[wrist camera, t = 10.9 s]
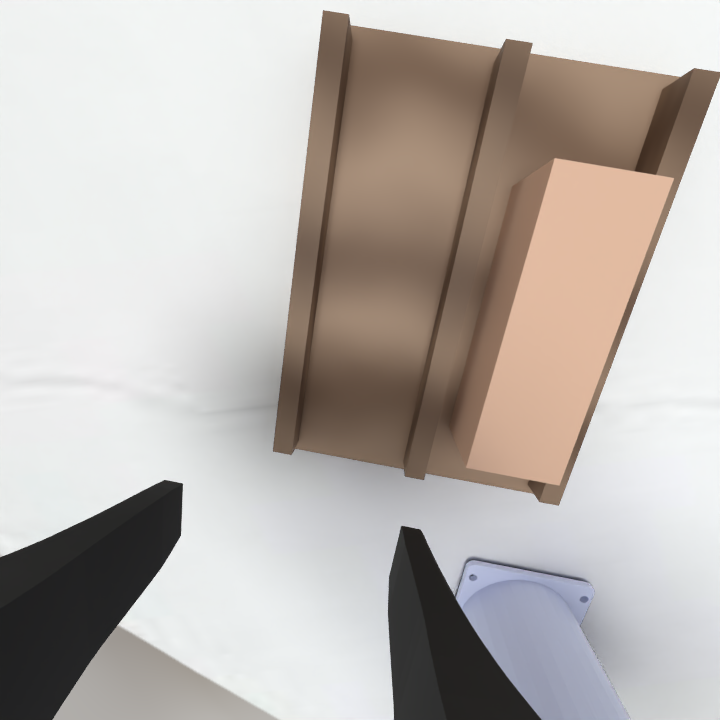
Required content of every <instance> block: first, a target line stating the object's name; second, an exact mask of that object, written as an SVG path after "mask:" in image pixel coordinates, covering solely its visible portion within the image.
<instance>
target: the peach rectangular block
mask: <svg viewBox="0 0 720 720" xmlns="http://www.w3.org/2000/svg"><path fill="white" fill-rule="evenodd" d="M673 180H674V178H671V177H665V176H659V175H653V174H647V173H641V172H635V171H629V170H623V169H617V168H611V167H605V166H599V165H593V164H587V163H581V162H575V161H569V160H563V159H557V158H554V159H553V160H551V161H550V162H548V163H547V164H545V165H544V166H542V167H541V168H539V169H538V170H536V171H535V172H533V173H532V174H530V175H529V176H527V177H526V178H524V179H523V180H521V181H520V182H518V183H517V184H515V185H514V186H512V189H511V193H510V197H509V200H508V204H507V208H506V212H505V216H504V220H503V223H502V227H501V231H500V235H499V239H498V242H497V246H496V250H495V254H494V258H493V261H492V265H491V269H490V273H489V277H488V281H487V284H486V288H485V292H484V296H483V300H482V303H481V307H480V311H479V315H478V319H477V322H476V326H475V330H474V334H473V338H472V342H471V345H470V349H469V353H468V357H467V361H466V364H465V368H464V372H463V376H462V380H461V383H460V387H459V391H458V395H457V399H456V402H455V406H454V410H453V414H452V418H451V422H450V425H449V428H450V430H451V433H452V435H453V437H454V440H455V442H456V445H457V447H458V450H459V452H460V454H461V457H462V459H463V462H464V464H465V466H466V468H469V469H475V470H480V471H485V472H490V473H496V474H501V475H506V476H511V477H517V478H522V479H527V480H532V481H538V482H543V483H548V484H553V485H560V483H561V480H562V477H563V475H564V472H565V469H566V467H567V464H568V461H569V459H570V456H571V453H572V451H573V448H574V445H575V443H576V440H577V437H578V434H579V432H580V429H581V426H582V424H583V421H584V418H585V416H586V413H587V410H588V408H589V405H590V402H591V400H592V397H593V394H594V392H595V389H596V386H597V384H598V381H599V378H600V376H601V373H602V370H603V368H604V365H605V362H606V360H607V357H608V354H609V351H610V349H611V346H612V343H613V341H614V338H615V335H616V333H617V330H618V327H619V325H620V322H621V319H622V317H623V314H624V311H625V309H626V306H627V303H628V301H629V298H630V295H631V293H632V290H633V287H634V285H635V282H636V279H637V276H638V274H639V271H640V268H641V266H642V263H643V260H644V258H645V255H646V252H647V250H648V247H649V244H650V242H651V239H652V236H653V234H654V231H655V228H656V226H657V223H658V220H659V218H660V215H661V212H662V210H663V207H664V204H665V201H666V199H667V196H668V193H669V191H670V188H671V185H672V183H673Z"/></svg>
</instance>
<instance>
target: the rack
mask: <svg viewBox="0 0 720 720" xmlns="http://www.w3.org/2000/svg"><path fill="white" fill-rule="evenodd" d="M532 44H533V43H529V42H523V41H516V40H510V39H506V40H505V42H504V44H503V46H502V48H501V49H498V48H492V47H486V46H479V45H473V44H466V43H460V42H454V41H447V40H441V39H435V38H428V37H422V36H415V35H409V34H403V33H396V32H390V31H384V30H377V29H371V28H364V27H358V26H352V25H350V18H349V14H343V13H337V12H330V11H324V10H323V16H322V24H321V33H320V42H319V51H318V60H317V68H316V77H315V86H314V95H313V103H312V112H311V121H310V130H309V139H308V147H307V156H306V165H305V174H304V183H303V191H302V200H301V209H300V218H299V226H298V235H297V244H296V253H295V262H294V270H293V279H292V288H291V297H290V305H289V314H288V323H287V332H286V341H285V349H284V358H283V367H282V376H281V385H280V393H279V402H278V411H277V420H276V428H275V437H274V446H273V451H274V452H279V453H284V454H290V455H292V453H293V451H294V449H300V450H306V451H311V452H316V453H321V454H327V455H332V456H337V457H343V458H348V459H353V460H358V461H364V462H369V463H374V464H380V465H385V466H390V467H395V468H401V469H404V474H405V477H411V478H416V479H421V480H424V477H425V473H427V474H432V475H438V476H443V477H448V478H454V479H459V480H464V481H469V482H475V483H480V484H485V485H491V486H496V487H501V488H506V489H512V490H517V491H522V492H528V493H533V494H534V495H535V496H536V498H537V499H538V501H539V502H543V503H548V504H553V505H558V506H559V504H560V501H561V498H562V496H563V493H564V490H565V488H566V485H567V482H568V480H569V477H570V474H571V472H572V469H573V466H574V464H575V461H576V458H577V456H578V453H579V450H580V448H581V445H582V442H583V440H584V437H585V434H586V432H587V429H588V426H589V424H590V421H591V418H592V416H593V413H594V410H595V408H596V405H597V402H598V400H599V397H600V394H601V392H602V389H603V386H604V384H605V381H606V378H607V376H608V373H609V371H610V368H611V365H612V363H613V360H614V357H615V355H616V352H617V349H618V347H619V344H620V341H621V339H622V336H623V333H624V331H625V328H626V325H627V323H628V320H629V317H630V315H631V312H632V309H633V307H634V304H635V301H636V299H637V296H638V293H639V291H640V288H641V285H642V283H643V280H644V277H645V275H646V272H647V269H648V267H649V264H650V261H651V259H652V256H653V253H654V251H655V248H656V245H657V243H658V240H659V238H660V235H661V232H662V230H663V227H664V224H665V222H666V219H667V216H668V214H669V211H670V208H671V206H672V203H673V200H674V198H675V195H676V192H677V190H678V187H679V184H680V182H681V179H682V176H683V174H684V171H685V168H686V166H687V163H688V160H689V158H690V155H691V152H692V150H693V147H694V144H695V142H696V139H697V136H698V134H699V131H700V128H701V126H702V123H703V120H704V118H705V115H706V112H707V110H708V107H709V105H710V102H711V99H712V97H713V94H714V91H715V89H716V86H717V83H718V81H719V78H720V72H715V71H708V70H702V69H696V68H694V69H692V70H691V71H689V72H688V73H686V74H685V75H683V76H682V77H677V76H671V75H664V74H658V73H651V72H645V71H639V70H632V69H626V68H620V67H613V66H607V65H600V64H594V63H588V62H581V61H575V60H568V59H562V58H556V57H549V56H543V55H537V54H530V52H531V48H532ZM554 158H557V159H563V160H569V161H575V162H581V163H587V164H593V165H599V166H605V167H611V168H617V169H623V170H629V171H635V172H641V173H647V174H653V175H659V176H665V177H671V178H674V180H673V183H672V185H671V188H670V191H669V193H668V196H667V199H666V201H665V204H664V207H663V210H662V212H661V215H660V218H659V220H658V223H657V226H656V228H655V231H654V234H653V236H652V239H651V242H650V244H649V247H648V250H647V252H646V255H645V258H644V260H643V263H642V266H641V268H640V271H639V274H638V276H637V279H636V282H635V285H634V287H633V290H632V293H631V295H630V298H629V301H628V303H627V306H626V309H625V311H624V314H623V317H622V319H621V322H620V325H619V327H618V330H617V333H616V335H615V338H614V341H613V343H612V346H611V349H610V351H609V354H608V357H607V360H606V362H605V365H604V368H603V370H602V373H601V376H600V378H599V381H598V384H597V386H596V389H595V392H594V394H593V397H592V400H591V402H590V405H589V408H588V410H587V413H586V416H585V418H584V421H583V424H582V426H581V429H580V432H579V434H578V437H577V440H576V443H575V445H574V448H573V451H572V453H571V456H570V459H569V461H568V464H567V467H566V469H565V472H564V475H563V477H562V480H561V483H560V485H553V484H548V483H543V482H538V481H532V480H527V479H522V478H517V477H511V476H506V475H501V474H496V473H490V472H485V471H480V470H475V469H469V468H466V466H465V464H464V462H463V459H462V457H461V454H460V452H459V450H458V447H457V445H456V442H455V440H454V437H453V435H452V433H451V430H450V428H449V425H450V422H451V418H452V414H453V410H454V406H455V402H456V399H457V395H458V391H459V387H460V383H461V380H462V376H463V372H464V368H465V364H466V361H467V357H468V353H469V349H470V345H471V342H472V338H473V334H474V330H475V326H476V322H477V319H478V315H479V311H480V307H481V303H482V300H483V296H484V292H485V288H486V284H487V281H488V277H489V273H490V269H491V265H492V261H493V258H494V254H495V250H496V246H497V242H498V239H499V235H500V231H501V227H502V223H503V220H504V216H505V212H506V208H507V204H508V200H509V197H510V193H511V189H512V186H514V185H515V184H517V183H518V182H520V181H521V180H523V179H524V178H526V177H527V176H529V175H530V174H532V173H533V172H535V171H536V170H538V169H539V168H541V167H542V166H544V165H545V164H547V163H548V162H550V161H551V160H553V159H554Z"/></svg>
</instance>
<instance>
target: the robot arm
mask: <svg viewBox="0 0 720 720" xmlns="http://www.w3.org/2000/svg"><path fill="white" fill-rule="evenodd" d="M182 492H183V484H182V483H177V482H172V481H167V480H164V481H162V482H160V483H157V484H155V485H153V486H151V487H150V488H148V489H146V490H144V491H142V492H140V493H138V494H136V495H134V496H132V497H130V498H128V499H126V500H124V501H123V502H121V503H119V504H117V505H115V506H113V507H111V508H109V509H107V510H105V511H103V512H101V513H99V514H97V515H95V516H93V517H91V518H89V519H87V520H85V521H83V522H80V523H78V524H76V525H74V526H72V527H70V528H68V529H66V530H63V531H61V532H59V533H57V534H55V535H53V536H51V537H48V538H46V539H44V540H42V541H39V542H37V543H35V544H32V545H30V546H28V547H25V548H23V549H20V550H18V551H15V552H13V553H10V554H8V555H5V556H3V557H0V720H52V719H53V718H54V716H55V715H56V713H57V711H58V710H59V708H60V707H61V705H62V704H63V702H64V701H65V699H66V698H67V696H68V695H69V693H70V691H71V690H72V688H73V687H74V685H75V684H76V682H77V681H78V679H79V678H80V676H81V675H82V673H83V672H84V670H85V669H86V667H87V665H88V664H89V663H90V661H91V660H92V658H93V657H94V656H95V654H96V653H97V651H98V650H99V649H100V647H101V646H102V645H103V643H104V642H105V641H106V639H107V638H108V636H109V635H110V634H111V633H112V632H113V630H114V629H115V628H116V626H117V625H118V624H119V623H120V621H121V620H122V619H123V617H124V616H125V615H126V613H127V612H128V611H129V610H130V608H131V607H132V606H133V604H134V603H135V602H136V600H137V599H138V598H139V597H140V595H141V594H142V593H143V591H144V590H145V589H146V587H147V586H148V585H149V583H150V582H151V581H152V579H153V578H154V577H155V576H156V574H157V573H158V571H159V570H160V569H161V567H162V566H163V564H164V563H165V561H166V559H167V558H168V556H169V555H170V553H171V551H172V550H173V548H174V546H175V545H176V543H177V541H178V539H179V538H180V536H181V519H182ZM472 574H475V575H473V576H470V575H472ZM594 594H595V591H594V589H593V587H592V585H591V584H590V583H588V582H584V581H578V580H573V579H568V578H563V577H558V576H553V575H548V574H542V573H537V572H532V571H527V570H522V569H517V568H512V567H507V566H501V565H496V564H491V563H486V562H481V561H476V560H472V561H469V562H468V563H467V564H466V566H465V570H464V573H463V576H462V579H461V583H460V586H459V589H458V592H457V596H456V598H455V596H454V595H453V593H452V591H451V589H450V587H449V585H448V584H447V582H446V580H445V578H444V576H443V574H442V572H441V570H440V568H439V567H438V564H437V562H436V560H435V558H434V556H433V554H432V552H431V550H430V548H429V546H428V544H427V541H426V539H425V537H424V535H423V533H422V531H421V530H420V529H415V528H410V527H405V526H401V530H400V534H399V538H398V542H397V546H396V551H395V555H394V559H393V563H392V567H391V571H390V576H389V596H388V622H389V638H390V654H391V670H392V686H393V701H394V720H631V719H630V717H629V715H628V713H627V711H626V709H625V708H624V706H623V704H622V702H621V700H620V699H619V697H618V695H617V693H616V691H615V689H614V688H613V686H612V684H611V682H610V680H609V679H608V677H607V675H606V673H605V671H604V669H603V668H602V666H601V664H600V662H599V660H598V658H597V657H596V655H595V653H594V651H593V649H592V648H591V646H590V644H589V642H588V640H587V638H586V637H585V635H584V633H583V631H582V629H581V628H580V626H581V623H582V621H583V619H584V616H585V614H586V612H587V610H588V607H589V605H590V603H591V601H592V598H593V596H594Z"/></svg>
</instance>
